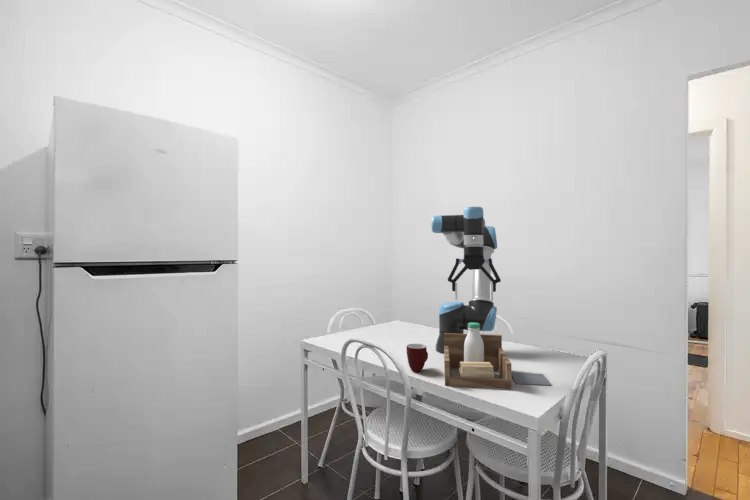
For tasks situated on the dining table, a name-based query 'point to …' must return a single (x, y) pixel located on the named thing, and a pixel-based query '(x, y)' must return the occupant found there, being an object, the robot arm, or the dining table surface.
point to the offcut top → (476, 367)
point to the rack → (491, 354)
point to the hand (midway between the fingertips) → (473, 299)
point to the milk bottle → (473, 344)
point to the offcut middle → (475, 375)
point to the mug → (417, 356)
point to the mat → (530, 379)
